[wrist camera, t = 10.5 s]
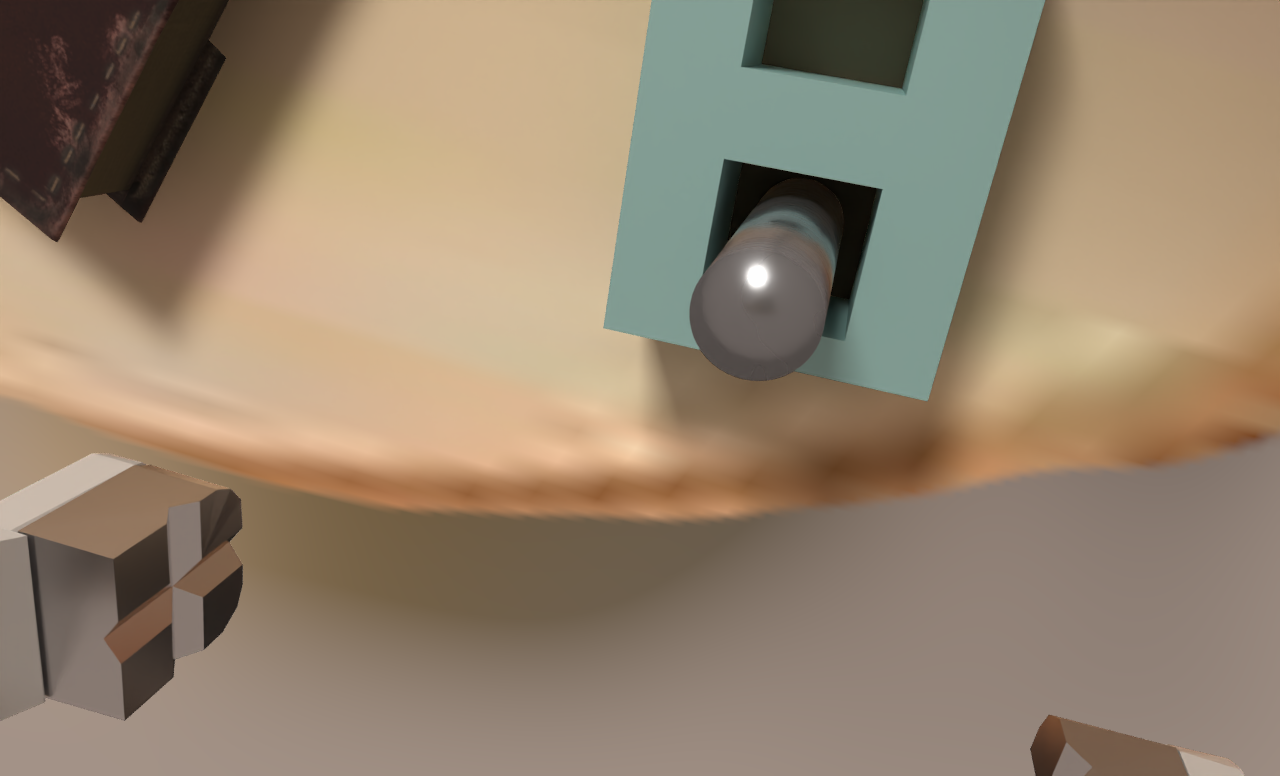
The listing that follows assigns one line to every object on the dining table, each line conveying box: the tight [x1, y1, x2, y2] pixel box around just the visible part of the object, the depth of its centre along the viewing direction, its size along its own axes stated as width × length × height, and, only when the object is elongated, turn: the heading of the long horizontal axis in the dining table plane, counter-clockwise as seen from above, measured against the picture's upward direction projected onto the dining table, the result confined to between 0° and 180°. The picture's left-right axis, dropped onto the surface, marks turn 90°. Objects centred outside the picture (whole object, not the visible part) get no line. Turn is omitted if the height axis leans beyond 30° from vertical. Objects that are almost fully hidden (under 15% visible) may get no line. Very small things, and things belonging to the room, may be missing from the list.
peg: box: [689, 178, 844, 381], centre depth 26 cm, size 3×3×12 cm
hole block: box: [604, 0, 1045, 401], centre depth 28 cm, size 14×10×5 cm
